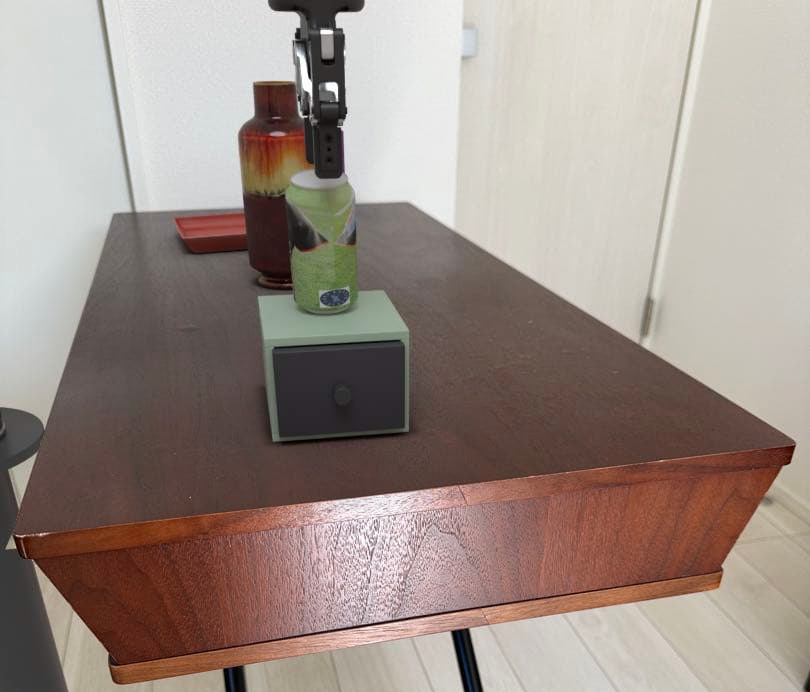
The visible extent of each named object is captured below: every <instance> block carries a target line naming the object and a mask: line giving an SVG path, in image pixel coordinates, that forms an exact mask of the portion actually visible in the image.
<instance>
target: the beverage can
mask: <svg viewBox="0 0 810 692" xmlns="http://www.w3.org/2000/svg"><path fill="white" fill-rule="evenodd" d="M290 179H291V183H290V185H289V187H288V189H287V191H286V194H285V199H286V211H287V223H288V235H289V247H290V259H291V271H292V283H293V289H292V292H293V294H292V295H294V300H295V302H296V303H297V304H298V305H300V306H301V307H303V308H304V309H306V310H307V311H309V312H312V313H316V314H334V313H339V312H342V311H344V310H346V309H347V308H348V307H349V306H350V305H352V304H353V303H354V302H356V300H357V299H358V291H359V276H358V275H359V274H358V273H359V272H358V271H359V270H358V242H357V241H358V239H357V211H356V208H357V207H356V205H357V204H356V192H355V189H354V188H353V186H352V184H351V183H350V182H349V177H348V175H347V173H346V172H345V173H343V172H342V176H341V177H340V178H338V179H319V178H318V177H317V176H316V175H315V172H314V169H310V170H304V171H300V172H297V173H295V174H293V175H292V176H291V178H290Z"/></svg>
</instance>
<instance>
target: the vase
mask: <svg viewBox="0 0 810 692" xmlns="http://www.w3.org/2000/svg"><path fill="white" fill-rule="evenodd" d="M252 92H253V93H252V95H253V109H254V110H253V111H254V113H253V116H252V117H251V118H249V119H248V120H246V121H245V122H244V123H243V124H242V125H241V126H240V128H239V130H238V133H237V146H238V158H239V169H240V170H239V171H240V182H241V190H242V202H243V213H244V214H245V225H246V235H247V245H248V249H247V254H248V263H249V266H250V267H251V268H252V269H253V270H255V271H257V272H258V273H261V274H260V275H259V276H258V277H257V284H258V285H259V286H260V287H263V288H266V289H272V290H293V283H292V271H291V259H290V247H289V235H288V223H287V211H286V199H285V194H286V191H287V189H288V187H289V185H290V183H291V179H290V178H291V176H292V175H293V174H295V173H297V172H300V171H304V170H310V169H314V164H309V163H308V162H307V161H306V158H305V139H304V119H303V116H302V115H300V108H299V102H298V94H297V91H296V83H295V80H293V81H291V80H260V81H259V80H258V81H252Z"/></svg>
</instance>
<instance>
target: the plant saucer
mask: <svg viewBox="0 0 810 692" xmlns="http://www.w3.org/2000/svg"><path fill="white" fill-rule="evenodd" d="M172 221H173V223H174V226H175V227H176V229H177V231H178V233H179V235H180V237H181V239H182V240H183V242H184V243H185V244H186V246H188V248H189V249H190V250H191V251H193V253H195V254H206V253H207V254H208V253H217V252H218V253H219V252H230V251H243V250H248V245H247V235H246V225H245V214H244V212H232V213H220V214H219V213H217V214H205V215H190V216H178V217H173V218H172Z"/></svg>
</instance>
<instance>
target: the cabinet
mask: <svg viewBox="0 0 810 692" xmlns="http://www.w3.org/2000/svg"><path fill="white" fill-rule="evenodd" d="M257 303H258V316H259V324H260V327H259V328H260V335H261V336H260V338H261V348H262V361H263V372H264V382H265V391H266V399H267V407H268V415H269V423H270V431H271V439H272V442H273V443H277V442H288V441H289V442H290V441H291V442H292V441H300V440H301V441H302V440H303V441H304V440H317V439H329V438H345V437H356V436H357V437H358V436H369V435H384V434H396V433H397V434H398V433H408V432H410V330H409V328H408V326H407V325H406V322H404V320H403V318H402V317H401V315H400V314H399V312H398V310H397V309H396V307H395V305H394V304H393V302H392V300H391V299H390V297H389V296H388V294H387V293H386V291H385V289H376V290H360V291H359V290H358V299H357V300H356V302H354V303H353V304H352V305H350V306H349V307H348V308H347V309H346V310H344V311H342V312H339V313H334V314H316V313H312V312H309V311H307V310H306V309H304V308H303V307H301V306H300V305H298V304H297V303H296V302H295V300H294V295H293V294H277V295H276V294H275V295H258V296H257ZM386 340H392V342H399V341H402V342H403V343H404V345H405V428H400V429H387V430H374V431H360V432H347V433H334V434H320V435H307V436H294V437H279V429H278V417H277V405H276V393H275V381H274V369H273V357H272V349H276V347H283V346H300V345H317V344H335V343H352V342H369V341H386Z"/></svg>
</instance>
